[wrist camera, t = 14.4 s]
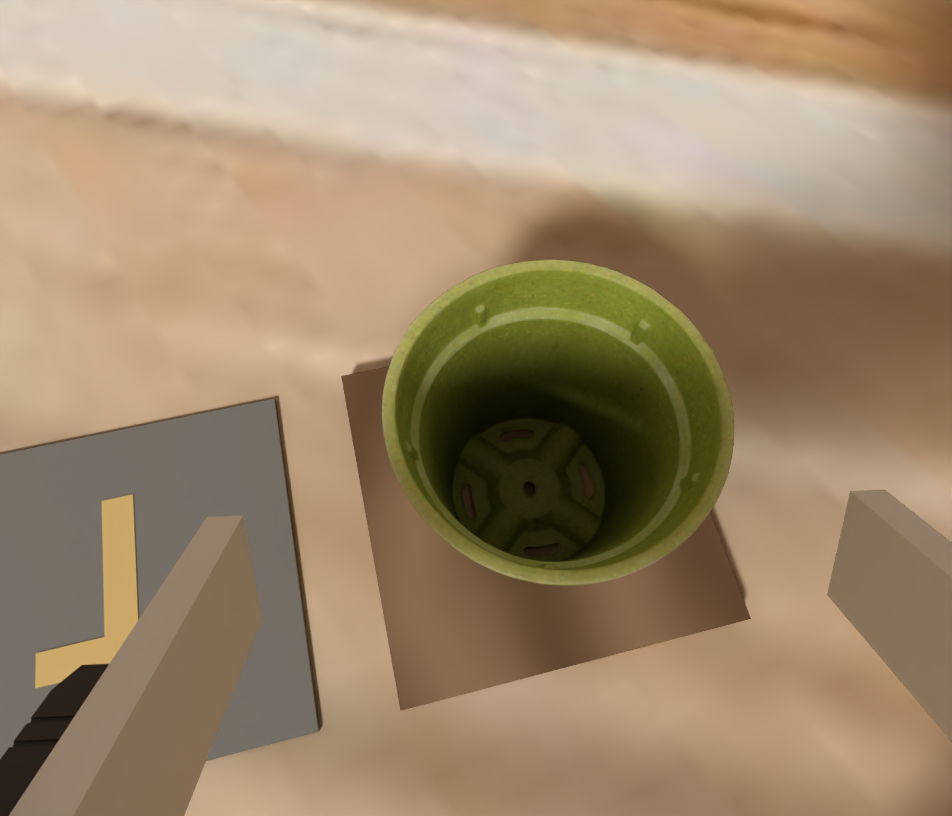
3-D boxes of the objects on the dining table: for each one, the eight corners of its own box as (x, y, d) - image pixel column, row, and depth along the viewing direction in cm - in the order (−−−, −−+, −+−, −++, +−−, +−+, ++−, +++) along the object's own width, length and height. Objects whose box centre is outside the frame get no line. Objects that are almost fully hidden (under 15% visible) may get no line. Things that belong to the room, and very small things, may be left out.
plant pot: (388, 404, 26) (357, 286, 18) (607, 362, 27) (668, 233, 19) (432, 640, 23) (416, 624, 15) (680, 583, 24) (792, 538, 16)
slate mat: (275, 400, 27) (273, 398, 27) (319, 731, 23) (318, 731, 22) (-48, 466, 26) (-53, 464, 26) (-73, 833, 21) (-79, 835, 21)
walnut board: (630, 327, 29) (635, 316, 28) (739, 620, 24) (750, 618, 23) (345, 385, 28) (341, 376, 27) (402, 708, 23) (400, 710, 22)
